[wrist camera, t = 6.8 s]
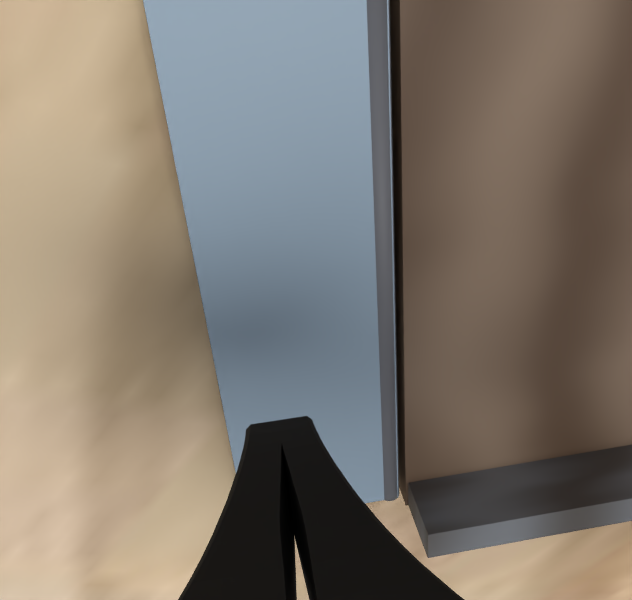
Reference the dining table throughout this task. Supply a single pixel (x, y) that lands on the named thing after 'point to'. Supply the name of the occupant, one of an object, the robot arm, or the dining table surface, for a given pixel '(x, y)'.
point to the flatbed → (512, 266)
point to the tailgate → (291, 213)
